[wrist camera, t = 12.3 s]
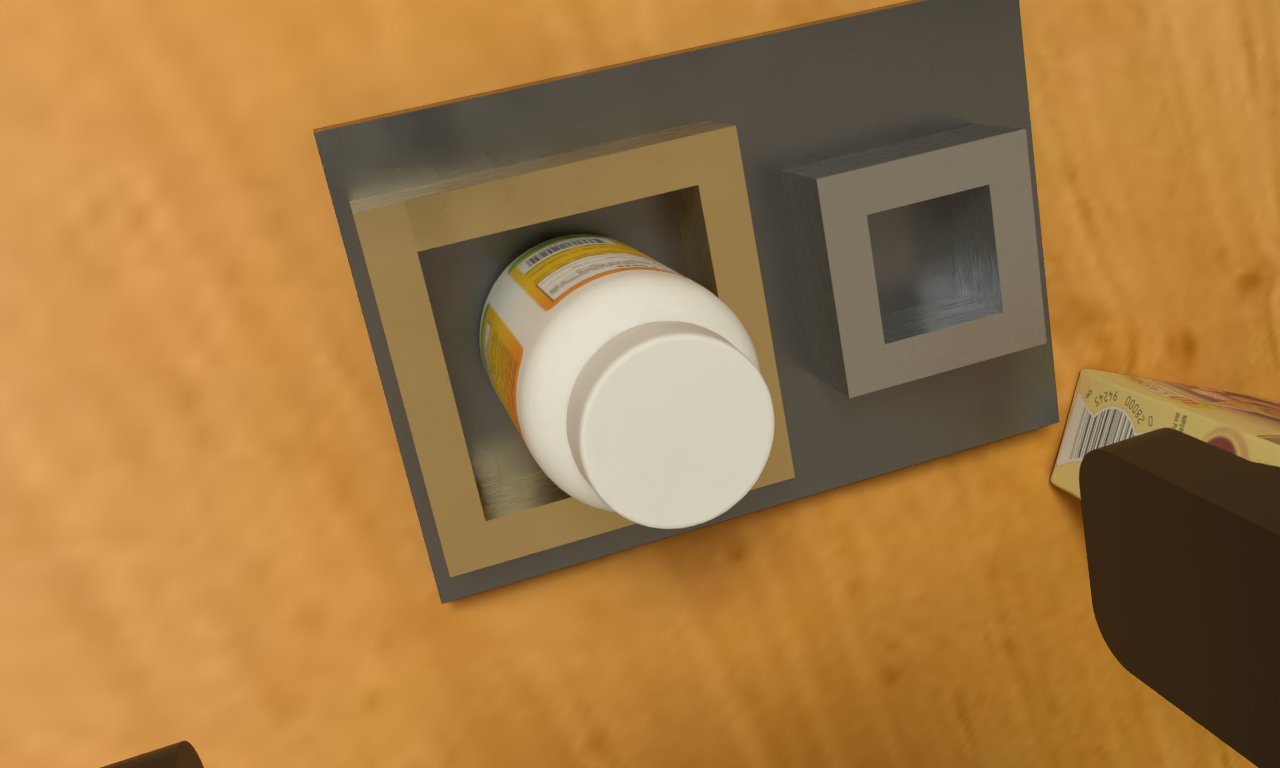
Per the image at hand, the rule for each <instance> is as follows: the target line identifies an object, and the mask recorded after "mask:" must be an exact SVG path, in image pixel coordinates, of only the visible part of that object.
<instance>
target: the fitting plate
mask: <svg viewBox="0 0 1280 768" xmlns="http://www.w3.org/2000/svg"><path fill="white" fill-rule="evenodd" d="M313 130H314V136H315V139H316V143H317V147H318V150H319V154H320V158H321V161H322V165H323V169H324V172H325V176H326V180H327V183H328V187H329V191H330V195H331V198H332V202H333V206H334V209H335V213H336V217H337V220H338V224H339V228H340V231H341V235H342V239H343V242H344V246H345V250H346V253H347V257H348V261H349V264H350V268H351V272H352V275H353V279H354V283H355V287H356V290H357V294H358V298H359V301H360V305H361V309H362V312H363V316H364V320H365V323H366V327H367V331H368V334H369V338H370V342H371V345H372V349H373V353H374V356H375V360H376V364H377V367H378V371H379V375H380V378H381V382H382V386H383V390H384V393H385V397H386V401H387V404H388V408H389V412H390V415H391V419H392V423H393V426H394V430H395V434H396V437H397V441H398V445H399V448H400V452H401V456H402V459H403V463H404V467H405V470H406V474H407V478H408V482H409V485H410V489H411V493H412V496H413V500H414V504H415V507H416V511H417V515H418V518H419V522H420V526H421V529H422V533H423V537H424V540H425V544H426V548H427V551H428V555H429V559H430V562H431V566H432V570H433V573H434V577H435V581H436V585H437V588H438V592H439V596H440V599H441V603H442V604H443V603H446V602H450V601H453V600H456V599H460V598H463V597H467V596H470V595H473V594H477V593H480V592H484V591H487V590H490V589H494V588H497V587H501V586H504V585H507V584H511V583H514V582H518V581H521V580H524V579H528V578H531V577H535V576H538V575H541V574H545V573H548V572H552V571H555V570H558V569H562V568H565V567H569V566H572V565H575V564H579V563H582V562H585V561H589V560H592V559H596V558H599V557H602V556H606V555H609V554H613V553H616V552H619V551H623V550H626V549H630V548H633V547H636V546H640V545H643V544H647V543H650V542H653V541H657V540H660V539H664V538H667V537H670V536H674V535H677V534H681V533H684V532H687V531H691V530H694V529H698V528H701V527H704V526H708V525H711V524H715V523H718V522H721V521H725V520H728V519H732V518H735V517H738V516H742V515H745V514H749V513H752V512H755V511H759V510H762V509H766V508H769V507H772V506H776V505H779V504H783V503H786V502H789V501H793V500H796V499H800V498H803V497H806V496H810V495H813V494H817V493H820V492H823V491H827V490H830V489H834V488H837V487H840V486H844V485H847V484H850V483H854V482H857V481H861V480H864V479H867V478H871V477H874V476H878V475H881V474H884V473H888V472H891V471H895V470H898V469H901V468H905V467H908V466H912V465H915V464H918V463H922V462H925V461H929V460H932V459H935V458H939V457H942V456H946V455H949V454H952V453H956V452H959V451H963V450H966V449H969V448H973V447H976V446H980V445H983V444H986V443H990V442H993V441H997V440H1000V439H1003V438H1007V437H1010V436H1014V435H1017V434H1020V433H1024V432H1027V431H1031V430H1034V429H1037V428H1041V427H1044V426H1048V425H1051V424H1054V423H1058V422H1059V414H1058V404H1057V393H1056V383H1055V372H1054V362H1053V352H1052V341H1051V331H1050V320H1049V310H1048V299H1047V289H1046V279H1045V268H1044V258H1043V247H1042V237H1041V227H1040V216H1039V206H1038V195H1037V185H1036V174H1035V164H1034V154H1033V143H1032V133H1031V122H1030V112H1029V102H1028V91H1027V81H1026V70H1025V60H1024V50H1023V39H1022V29H1021V18H1020V8H1019V0H912V1H907V2H902V3H898V4H893V5H888V6H884V7H879V8H874V9H870V10H865V11H861V12H856V13H851V14H847V15H842V16H837V17H833V18H828V19H823V20H819V21H814V22H810V23H805V24H800V25H796V26H791V27H786V28H782V29H777V30H772V31H768V32H763V33H759V34H754V35H749V36H745V37H740V38H735V39H731V40H726V41H721V42H717V43H712V44H708V45H703V46H698V47H694V48H689V49H684V50H680V51H675V52H670V53H666V54H661V55H656V56H652V57H647V58H643V59H638V60H633V61H629V62H624V63H619V64H615V65H610V66H605V67H601V68H596V69H592V70H587V71H582V72H578V73H573V74H568V75H564V76H559V77H554V78H550V79H545V80H541V81H536V82H531V83H527V84H522V85H517V86H513V87H508V88H503V89H499V90H494V91H490V92H485V93H480V94H476V95H471V96H466V97H462V98H457V99H452V100H448V101H443V102H438V103H434V104H429V105H425V106H420V107H415V108H411V109H406V110H401V111H397V112H392V113H387V114H383V115H378V116H374V117H369V118H364V119H360V120H355V121H350V122H346V123H341V124H336V125H332V126H327V127H323V128H318V129H313ZM575 234H588V235H597V236H603V237H608V238H611V239H614V240H617V241H620V242H623V243H625V244H627V245H629V246H631V247H633V248H635V249H636V250H638V251H640V252H642V253H643V254H645V255H647V256H649V257H650V258H652V259H654V260H656V261H658V262H659V263H661V264H663V265H665V266H667V267H669V268H670V269H672V270H674V271H675V272H677V273H679V274H681V275H683V276H684V277H687V278H689V279H691V280H693V281H694V282H696V283H698V284H700V285H701V286H703V287H704V288H706V289H707V290H709V291H710V292H712V293H713V294H714V295H715V296H716V297H718V298H719V299H720V300H721V301H722V302H724V303H725V304H726V305H727V306H728V307H729V308H730V309H731V310H732V311H733V312H734V314H735V315H736V316H737V317H738V319H739V320H740V321H741V323H742V324H743V326H744V328H745V329H746V331H747V333H748V334H749V336H750V339H751V341H752V343H753V345H754V348H755V351H756V354H757V358H758V362H759V367H760V373H761V375H762V377H763V379H764V381H765V383H766V385H767V387H768V389H769V392H770V395H771V399H772V403H773V409H774V419H775V420H774V438H773V443H772V447H771V451H770V454H769V457H768V460H767V462H766V464H765V467H764V469H763V471H762V473H761V475H760V476H759V478H758V479H757V481H756V483H755V484H754V485H753V486H752V488H751V489H750V490H749V491H748V493H747V494H746V495H745V496H744V497H743V498H742V499H741V500H740V501H738V502H737V503H736V504H735V505H734V506H733V507H731V508H730V509H729V510H727V511H726V512H724V513H723V514H721V515H719V516H717V517H715V518H713V519H711V520H709V521H707V522H704V523H701V524H698V525H694V526H690V527H685V528H677V529H660V528H653V527H648V526H644V525H641V524H638V523H635V522H632V521H630V520H628V519H626V518H624V517H622V516H621V515H619V514H618V513H614V512H610V511H605V510H601V509H598V508H595V507H592V506H589V505H587V504H585V503H583V502H580V501H579V500H577V499H575V498H573V497H572V496H570V495H568V494H567V493H566V492H564V491H563V490H562V489H560V488H559V487H558V486H557V485H556V484H555V483H554V482H553V481H552V480H551V479H550V478H549V477H548V476H547V475H546V474H545V473H544V471H543V470H542V469H541V468H540V466H539V465H538V464H537V462H536V461H535V459H534V458H533V456H532V455H531V453H530V452H529V450H528V448H527V446H526V445H525V443H524V441H523V439H522V437H521V436H520V434H519V432H518V430H517V429H516V427H515V425H514V423H513V421H512V420H511V418H510V416H509V414H508V413H507V411H506V409H505V408H504V406H503V404H502V402H501V401H500V400H499V398H498V396H497V394H496V392H495V391H494V389H493V387H492V385H491V383H490V381H489V378H488V376H487V374H486V371H485V368H484V365H483V361H482V357H481V351H480V323H481V318H482V313H483V309H484V305H485V302H486V300H487V297H488V295H489V293H490V291H491V289H492V287H493V285H494V284H495V282H496V281H497V279H498V278H499V276H500V275H501V274H502V272H503V271H504V270H505V269H506V268H507V267H508V265H509V264H510V263H512V262H513V261H514V260H515V259H516V258H517V257H518V256H520V255H521V254H523V253H524V252H525V251H527V250H528V249H530V248H532V247H534V246H536V245H537V244H539V243H542V242H544V241H547V240H550V239H553V238H556V237H561V236H566V235H575Z"/></svg>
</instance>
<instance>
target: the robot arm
mask: <svg viewBox="0 0 1280 768" xmlns="http://www.w3.org/2000/svg"><path fill="white" fill-rule="evenodd" d="M1079 487H1080V496H1081V506H1082V515H1083V524H1084V533H1085V542H1086V551H1087V560H1088V569H1089V578H1090V587H1091V596H1092V604H1093V610H1094V614H1095V618H1096V621H1097V624H1098V627H1099V629H1100V632H1101V634H1102V636H1103V638H1104V640H1105V642H1106V644H1107V646H1108V647H1109V649H1110V650H1111V652H1112V653H1113V655H1114V656H1115V657H1116V659H1117V660H1118V661H1119V662H1120V663H1121V665H1122V666H1123V667H1124V668H1125V669H1127V670H1128V671H1129V672H1130V673H1131V674H1133V675H1134V676H1135V677H1137V678H1138V679H1140V680H1141V681H1142V682H1144V683H1145V684H1146V685H1148V686H1149V687H1150V688H1152V689H1153V690H1154V691H1156V692H1157V693H1158V694H1160V695H1161V696H1162V697H1164V698H1165V699H1167V700H1168V701H1169V702H1171V703H1172V704H1173V705H1175V706H1176V707H1177V708H1179V709H1180V710H1181V711H1183V712H1184V713H1185V714H1187V715H1188V716H1190V717H1191V718H1192V719H1194V720H1195V721H1196V722H1198V723H1199V724H1200V725H1202V726H1203V727H1204V728H1206V729H1207V730H1208V731H1210V732H1211V733H1212V734H1214V735H1215V736H1217V737H1218V738H1219V739H1221V740H1222V741H1223V742H1225V743H1226V744H1227V745H1229V746H1230V747H1231V748H1233V749H1234V750H1235V751H1237V752H1238V753H1240V754H1241V755H1242V756H1244V757H1245V758H1246V759H1248V760H1249V761H1250V762H1252V763H1253V764H1254V765H1256V766H1257V767H1258V768H1280V467H1278V466H1272V465H1267V464H1261V463H1256V462H1251V461H1249V460H1247V459H1244V458H1242V457H1240V456H1237V455H1235V454H1232V453H1230V452H1228V451H1225V450H1223V449H1221V448H1218V447H1216V446H1214V445H1211V444H1209V443H1206V442H1204V441H1202V440H1199V439H1197V438H1195V437H1192V436H1190V435H1187V434H1185V433H1183V432H1180V431H1178V430H1175V429H1172V428H1160V429H1156V430H1153V431H1150V432H1147V433H1144V434H1141V435H1138V436H1135V437H1132V438H1128V439H1125V440H1122V441H1119V442H1116V443H1113V444H1110V445H1107V446H1104V447H1101V448H1097V449H1094V450H1091V451H1090V452H1088V453H1087V454H1086V455H1085V456H1084V457H1083V460H1082V462H1081V465H1080V469H1079ZM101 768H204V767H203V765H202V762H201V760H200V758H199V756H198V754H197V752H196V751H195V749H194V748H193V746H192V745H191V744H190V743H189V742H188V741H182V742H179V743H176V744H172V745H169V746H166V747H163V748H160V749H157V750H154V751H151V752H148V753H145V754H141V755H138V756H135V757H132V758H129V759H126V760H123V761H120V762H117V763H113V764H110V765H107V766H104V767H101Z"/></svg>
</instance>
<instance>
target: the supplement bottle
mask: <svg viewBox="0 0 1280 768" xmlns="http://www.w3.org/2000/svg"><path fill="white" fill-rule="evenodd" d="M480 351H481V357H482V361H483V365H484V368H485V371H486V374H487V376H488V378H489V381H490V383H491V385H492V387H493V389H494V391H495V392H496V394H497V396H498V398H499V400H500V401H501V402H502V404H503V406H504V408H505V409H506V411H507V413H508V414H509V416H510V418H511V420H512V421H513V423H514V425H515V427H516V429H517V430H518V432H519V434H520V436H521V437H522V439H523V441H524V443H525V445H526V446H527V448H528V450H529V452H530V453H531V455H532V456H533V458H534V459H535V461H536V462H537V464H538V465H539V466H540V468H541V469H542V470H543V471H544V473H545V474H546V475H547V476H548V477H549V478H550V479H551V480H552V481H553V482H554V483H555V484H556V485H557V486H558V487H559V488H560V489H562V490H563V491H564V492H566V493H567V494H568V495H570V496H572V497H573V498H575V499H577V500H579V501H580V502H583V503H585V504H587V505H589V506H592V507H595V508H598V509H601V510H605V511H610V512H614V513H618V514H619V515H621V516H622V517H624V518H626V519H628V520H630V521H632V522H635V523H638V524H641V525H644V526H648V527H653V528H660V529H677V528H685V527H690V526H694V525H698V524H701V523H704V522H707V521H709V520H711V519H713V518H715V517H717V516H719V515H721V514H723V513H724V512H726V511H727V510H729V509H730V508H731V507H733V506H734V505H735V504H736V503H737V502H738V501H740V500H741V499H742V498H743V497H744V496H745V495H746V494H747V493H748V491H749V490H750V489H751V488H752V486H753V485H754V484H755V483H756V481H757V479H758V478H759V476H760V475H761V473H762V471H763V469H764V467H765V464H766V462H767V460H768V457H769V454H770V451H771V447H772V443H773V438H774V420H775V419H774V409H773V403H772V399H771V395H770V392H769V389H768V387H767V385H766V383H765V381H764V379H763V377H762V375H761V373H760V367H759V362H758V358H757V354H756V351H755V348H754V345H753V343H752V341H751V339H750V336H749V334H748V333H747V331H746V329H745V328H744V326H743V324H742V323H741V321H740V320H739V319H738V317H737V316H736V315H735V314H734V312H733V311H732V310H731V309H730V308H729V307H728V306H727V305H726V304H725V303H724V302H722V301H721V300H720V299H719V298H718V297H716V296H715V295H714V294H713V293H712V292H710V291H709V290H707V289H706V288H704V287H703V286H701V285H700V284H698V283H696V282H694V281H693V280H691V279H689V278H687V277H684V276H683V275H681V274H679V273H677V272H675V271H674V270H672V269H670V268H669V267H667V266H665V265H663V264H661V263H659V262H658V261H656V260H654V259H652V258H650V257H649V256H647V255H645V254H643V253H642V252H640V251H638V250H636V249H635V248H633V247H631V246H629V245H627V244H625V243H623V242H620V241H617V240H614V239H611V238H608V237H603V236H597V235H588V234H575V235H566V236H561V237H556V238H553V239H550V240H547V241H544V242H542V243H539V244H537V245H536V246H534V247H532V248H530V249H528V250H527V251H525V252H524V253H523V254H521V255H520V256H518V257H517V258H516V259H515V260H514V261H513V262H512V263H510V264H509V265H508V267H507V268H506V269H505V270H504V271H503V272H502V274H501V275H500V276H499V278H498V279H497V281H496V282H495V284H494V285H493V287H492V289H491V291H490V293H489V295H488V297H487V300H486V302H485V305H484V309H483V313H482V318H481V323H480Z"/></svg>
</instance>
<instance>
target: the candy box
mask: <svg viewBox="0 0 1280 768" xmlns="http://www.w3.org/2000/svg"><path fill="white" fill-rule="evenodd" d="M1160 428H1172V429H1175V430H1178V431H1180V432H1183V433H1185V434H1187V435H1190V436H1192V437H1195V438H1197V439H1199V440H1202V441H1204V442H1206V443H1209V444H1211V445H1214V446H1216V447H1218V448H1221V449H1223V450H1225V451H1228V452H1230V453H1232V454H1235V455H1237V456H1240V457H1242V458H1244V459H1247V460H1249V461H1251V462H1256V463H1261V464H1267V465H1272V466H1278V467H1280V402H1278V401H1272V400H1266V399H1261V398H1256V397H1251V396H1245V395H1240V394H1235V393H1229V392H1224V391H1219V390H1213V389H1207V388H1201V387H1195V386H1189V385H1184V384H1177V383H1172V382H1166V381H1160V380H1154V379H1148V378H1141V377H1135V376H1129V375H1123V374H1117V373H1112V372H1105V371H1099V370H1091V369H1083V370H1081V372H1080V376H1079V379H1078V383H1077V386H1076V389H1075V393H1074V397H1073V401H1072V405H1071V408H1070V412H1069V415H1068V419H1067V423H1066V426H1065V430H1064V434H1063V438H1062V442H1061V445H1060V449H1059V453H1058V456H1057V460H1056V464H1055V466H1054V469H1053V472H1052V475H1051V480H1050V481H1051V483H1052V484H1053V485H1054V486H1056V487H1058V488H1060V489H1062V490H1064V491H1066V492H1068V493H1069V494H1071V495H1073V496H1075V497H1076V498H1078V499H1080V500H1081V496H1080V487H1079V469H1080V465H1081V462H1082V460H1083V457H1084V456H1085V455H1086V454H1087V453H1088V452H1090V451H1091V450H1094V449H1097V448H1101V447H1104V446H1107V445H1110V444H1113V443H1116V442H1119V441H1122V440H1125V439H1128V438H1132V437H1135V436H1138V435H1141V434H1144V433H1147V432H1150V431H1153V430H1156V429H1160Z"/></svg>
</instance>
